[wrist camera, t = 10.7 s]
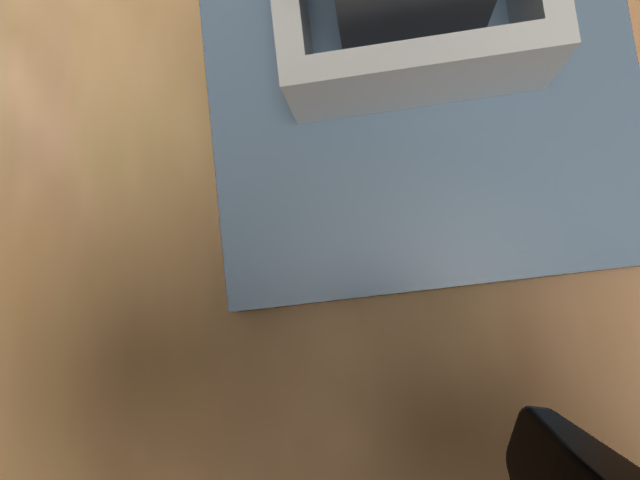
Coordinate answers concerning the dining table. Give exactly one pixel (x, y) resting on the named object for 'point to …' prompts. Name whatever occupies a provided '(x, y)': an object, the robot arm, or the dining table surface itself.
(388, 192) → the outlet plate
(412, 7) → the brick
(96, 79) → the dining table surface
